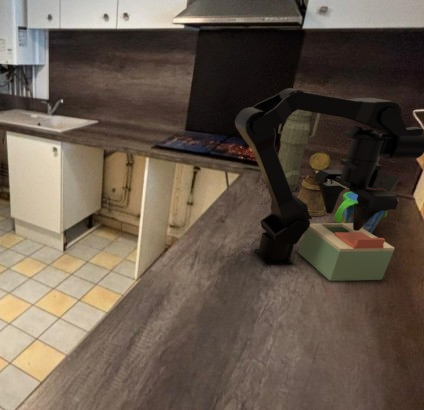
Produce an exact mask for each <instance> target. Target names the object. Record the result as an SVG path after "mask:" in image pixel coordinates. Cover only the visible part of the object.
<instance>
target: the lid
mask: <svg viewBox="0 0 424 410" xmlns="http://www.w3.org/2000/svg"><path fill="white" fill-rule="evenodd" d="M325 227H343V228H345V229H346V230H348V231H349V232H363V233H364V234H366V235H367V236H369V237H371V238H379V237H378V236H376V235H374V234H373V233H372V234H371V233H369V232H368V231H366V230H365V229H363V228H361V229H360V230H359V231H354V230H353V223H338V222H335V223H333V222H332V223H325V222H324V223H310V227H309V229H310V230H311V231H313V232H314V233H315V234H317V235H318V236H319V237H321V238H322V239H323V240H325V241H326V242H327V243H329V244H330V245H331V246H333V247H334V248H335V249H337V250H338V251H339V252H351V251H354V252H355V251H393V252H395V248H396V247H394V246H393V245H391V244H389V243H388V242H386V241H384V244H383V246H384V247H383V248H352V247H351V246H350V245H348V244H347V243H345V242H344V241H342V240H341V239H340V238H338V237H337V236H335V235H334V233H332V232H331V231H329V230H328V229H327V228H325Z"/></svg>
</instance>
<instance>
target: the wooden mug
mask: <svg viewBox="0 0 424 410" xmlns="http://www.w3.org/2000/svg"><path fill="white" fill-rule="evenodd" d="M331 164H332V159H331V156H330V155H329V153H327V152H326V151H324V150H320V151H317V152H315V153H313V154H311V156H310V157H309V159H308V166H309V167H310V169H311V170H312V171H311V175H306V177H305V178H304V179H303V181H302V183H301V189H300V191H299V193H298V195H297V198H299V199H300V200H301V201H303V202H304V203H305V204H307V207H308V213H309V215H310V216H311V217H321V216H322V217H323V216H324V215H325V214H326V213H325V212H326V208H325V205H324V201H323V197H322V194H321V191H320V188H319V186H318V185H317V183H319V182H317V181H315V176H316V173H317V172H319V171H320V170H328V169H329V168H330V166H331Z"/></svg>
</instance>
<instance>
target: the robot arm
mask: <svg viewBox="0 0 424 410" xmlns="http://www.w3.org/2000/svg"><path fill="white" fill-rule="evenodd" d="M303 91H304V90H301V89H296V88H292V87H289V88H284V89H283V90H281V91H280V92H278V93H277V94H275V95H274V96H273V95H272V96H271V97H269V98H266V99H264V100H262V101H259V102H258V103H256V104H254V105H253V106H251V107H249V106H248V107H245V108H243V109H242V110H240V111H239V113H238V114H237V115H236V117H235V119H234V125H235V128H236V129H237V131H238V133H239V134H240V136H241V137H242V139H243V140H244V141H245V142H246V144H247V145H248V146H249V147H250V149H251V150H252V153H253V155H254V158H255V160H256V163H257V165H258V167H259V170H260V173H261V176H262V178H263V181H264V183H265V186H266V189H267V190H268V194H269V196H270V198H271V203H270V211H271V213H269V214H268V215H267V216H265V217H264V218H262V219H261V220H260V226H261V229H263V230H264V232H261V238H260V242H259V245H258V246H259V247H258V248H254V252H255V253H256V254H257V256H258V257H259V258H260V259H261V260H262V261H263V263H265V264H267V265H291V264H293V260H291V258H292V257H291V256H292V253H293V249H294V246H295V245H297V244H298V242H299V241H300V240H301V238H303V235H304V232H305V231H307V229H308V228H309V227H310V224H311V220H313V216H310V215H309V213H308V207H307V204H305V203H304V202H303V201H301V200H300V199H299V198H298V196H296V194H293V193H292V192H291V190H290V187H289V184H288V182H287V179H286V176H285V173H284V171H283V168H282V165H281V163H280V160H279V157H278V155H279V153H278V152H277V149H276V147H275V142H276V137H277V132H276V128H277V127H279V125H280V124H282V125H283V123H284V122H285V121H287V118H288V117H289V116H290V115H291V114H292V113H293V112H295V111H296V110H303V111H309V112H314V114H317V113H321V115H327V116H332V117H333V116H334V117H339V118H343V119H345V120H349V121H350V122H353V123H356V124H358V125H362V126H366V127H369V128H370V129H363V127H361V126H358V125H354V126H352V127H351V128H349V129H347V130H345V131H344V132H343V133H342V135H343V136H345V137H347V138H350V139H351V142H350V145H349V148H348V151H347V154H346V158H345V159H340V162H339V164H340V165H342V166H343V168H342V170H340V169H326V170H320V171H319V170H318V171H319V172H317V173H316V176H315V181H317V182H319V183H317V185H318V186H319V188H320V191H321V194H322V197H323V201H324V205H325V212H326V214H329V215H331V214H332V213H333V212H334V210H335V207H336V205H337V204H338V200H339V197H340V194H341V193H342V192H343V191H344V190H347V191H348V192H353V193H355V194H357V195H358V197H357V201H358V203H355V204H354V218H353V230H354V231H359V230H360V229H361V228H362V227H363V226H364V225H365V224H366V223H367V222H368V220H369V219H370V218H371V217H372V216H374V215H375V214H376V213H378V212H380V211H387V210H388V211H390V210H397V206H398V205H399V202H400V199H399V198H398V196H397V195H395V194H393V193H390V192H392V191H393V189H394V188H395V187H396V186H397V184H398V182H399V181H400V180H401V179H400V178H397V177H395V176H392V175H390V174H387V173H384V172H382V171H383V165H382V164H379V161H380V158H381V157H382V158H383V159H385V160H386V159H387V160H417V159H419V158H421V157H422V156H423V155H424V135H423V133H424V128H421V127H418V126H410V127H407V126H406V123H405V121H404V119H403V117H402V108H401V104H400V103H399V102H397V101H394V100H393V101H392V100H388V99H382V98H376V97H356V98H343V97H338V96H337V97H336V96H331V95H325V94H319V93H318V94H317V93H316V94H314V93H315V92H314V93H308V92H303ZM378 131H379V132H382V133H379V132H378ZM379 188H382V189H379ZM370 189H371V190H370ZM375 189H376V190H375ZM383 189H385V190H383Z"/></svg>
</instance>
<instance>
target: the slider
mask: <svg viewBox="0 0 424 410" xmlns="http://www.w3.org/2000/svg"><path fill="white" fill-rule="evenodd" d="M334 235H335V236H337V237H338V238H340V239H341V240H342V241H344V242H345V243H347V244H348V245H350V246H351V247H352V248H383V247H384V246H383V244H384V242H386V239H385V238H384V237H378V238H371V237H369V236H367V235H366V234H364V233H363V232H335V233H334Z"/></svg>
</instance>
